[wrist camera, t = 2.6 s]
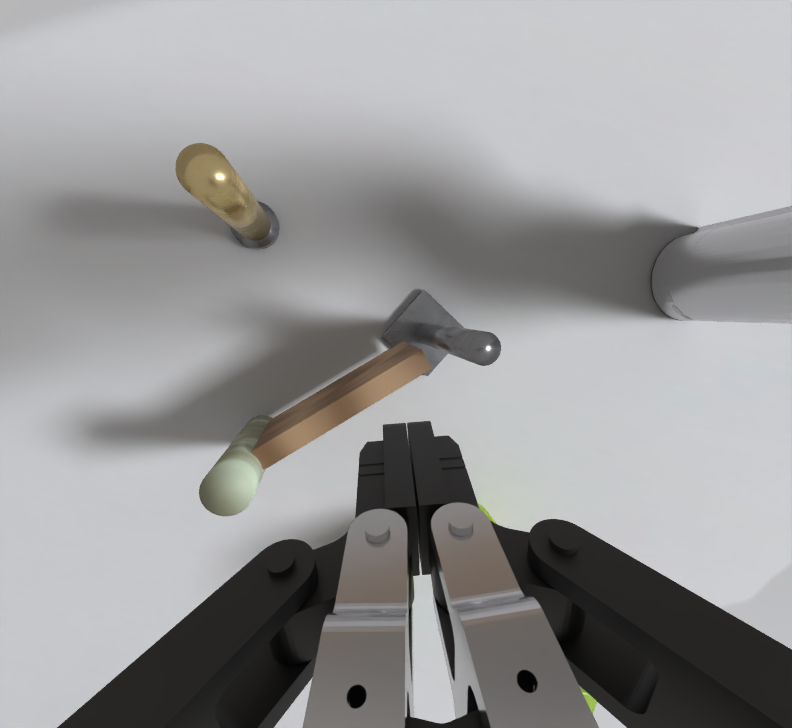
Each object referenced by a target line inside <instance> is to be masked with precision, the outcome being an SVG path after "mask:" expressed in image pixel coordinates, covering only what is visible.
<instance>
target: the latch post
mask: <svg viewBox="0 0 792 728" xmlns="http://www.w3.org/2000/svg"><path fill="white" fill-rule="evenodd" d="M176 174H177V178H178V180H179V182H180V183H181V185H182V186H183V187H184V188H185V189H186V190H187V191H188V192H189V193H190V194H192V195H193V196H194V197H195V198H197V199H198V200H199V201H200V202H202V203H203V204H204V205H205V206H207V207H208V208H209V209H210V210H212V211H213V212H214V213H215V214H216V215H218V216H219V217H220V218H221V219H223V220H224V221H225V222H226V223H228V224H229V225H230V226H231V230H232V232H233V234H234V236H235V237H236V239H237V240H238V241H239V242H241V243H242V244H243V245H245V246H246V247H249V248H252V249H264V248H267V247H269V246H270V245H272V244H273V243H274V242H275V240H276V238H277V236H278V233H279V223H278V220H277V217H276V216H275V214H274V212H273V211H272V210H271V209H270V208H269V207H268V206H267V205H265V204H263V203H261V202H258V201H257V200H256V199H255V198H254V196H253V195H252V194H251V192H250V191H249V189H248V188H247V187H246V185H245V184H244V182H243V181H242V180H241V178H240V177H239V176H238V174H237V173H236V171H235V170H234V169H233V167H232V166H231V165H230V163H229V162H228V160H227V159H226V158H225V156H224V155H223V154H222V153H221V152H220V151H219V150H218V149H216V148H215V147H213V146H211V145H208V144H202V143H197V144H192V145H190V146H188V147H186V148H185V149H183V150H182V151H181V153H180V154H179V156H178V158H177V161H176Z"/></svg>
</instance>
